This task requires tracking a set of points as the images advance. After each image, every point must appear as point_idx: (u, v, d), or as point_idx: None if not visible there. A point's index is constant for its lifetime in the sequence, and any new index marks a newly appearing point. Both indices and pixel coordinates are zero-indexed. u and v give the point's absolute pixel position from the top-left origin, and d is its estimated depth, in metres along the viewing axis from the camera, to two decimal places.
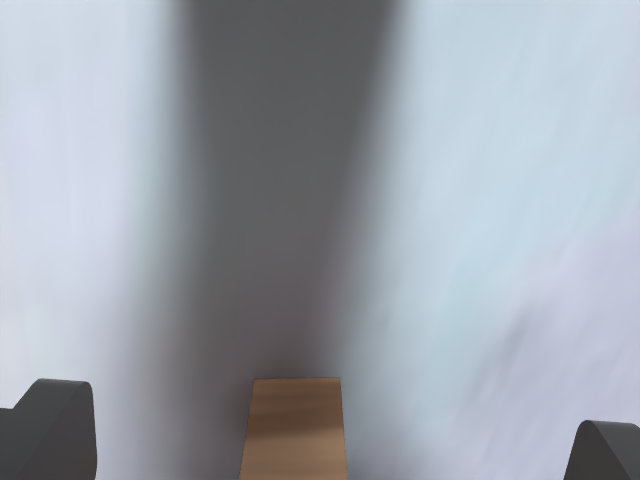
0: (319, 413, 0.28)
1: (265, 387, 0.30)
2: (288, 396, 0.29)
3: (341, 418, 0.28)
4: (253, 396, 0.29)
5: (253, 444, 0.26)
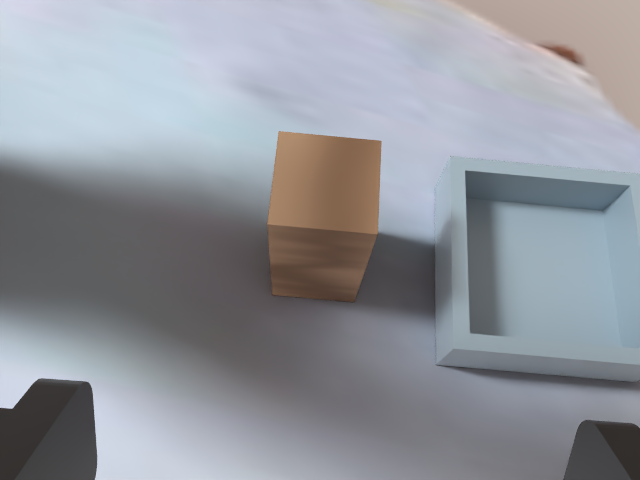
0: None
1: None
2: None
3: None
4: None
5: None
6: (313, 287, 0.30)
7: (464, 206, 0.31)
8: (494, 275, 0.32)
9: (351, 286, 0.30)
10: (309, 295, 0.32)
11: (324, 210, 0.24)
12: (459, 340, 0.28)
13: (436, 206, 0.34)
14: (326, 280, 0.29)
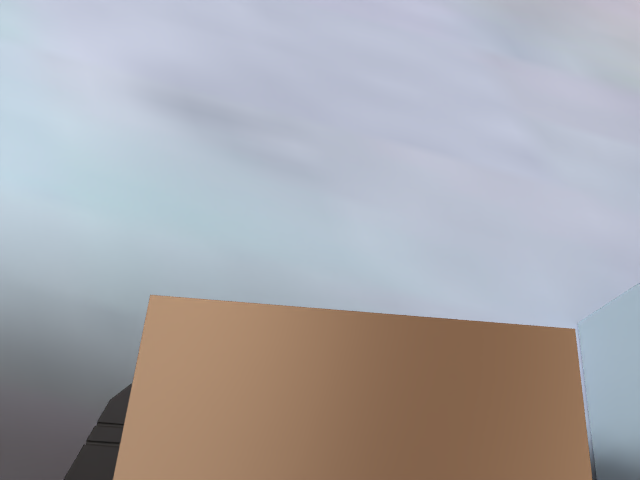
0: None
1: None
2: None
3: None
4: None
5: None
6: None
7: None
8: None
9: None
10: None
11: None
12: None
13: (591, 374, 0.15)
14: None
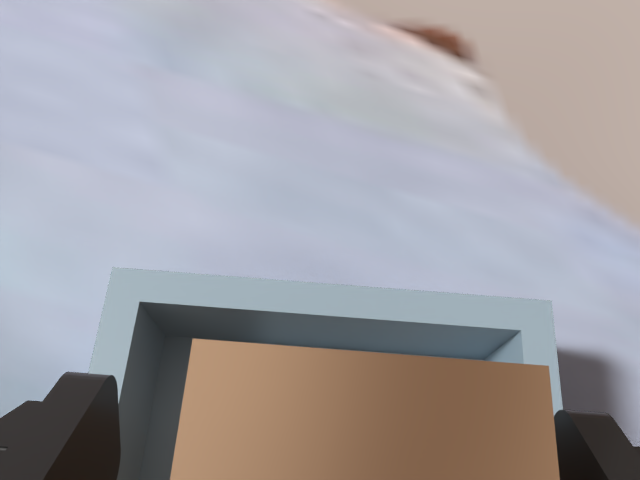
0: None
1: None
2: None
3: None
4: None
5: None
6: None
7: None
8: None
9: None
10: None
11: None
12: None
13: None
14: None
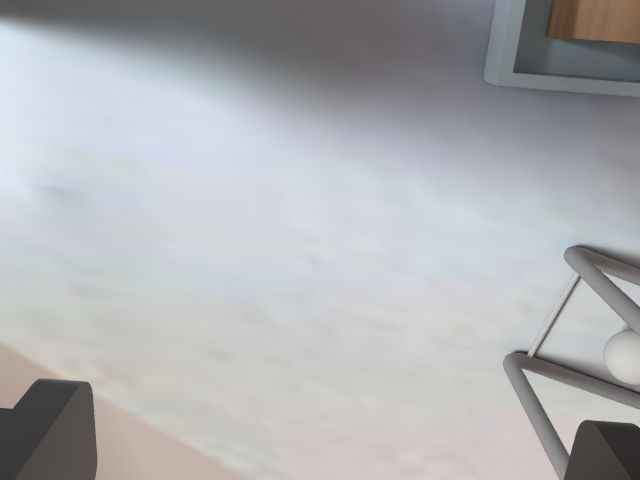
0: None
1: (551, 25, 0.36)
2: (560, 4, 0.35)
3: None
4: (553, 35, 0.36)
5: (577, 30, 0.32)
6: None
7: None
8: (549, 0, 0.36)
9: None
10: None
11: None
12: (503, 79, 0.35)
13: None
14: None
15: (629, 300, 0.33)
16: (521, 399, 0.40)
